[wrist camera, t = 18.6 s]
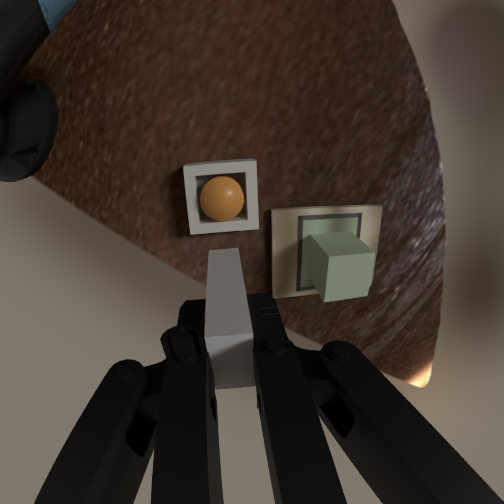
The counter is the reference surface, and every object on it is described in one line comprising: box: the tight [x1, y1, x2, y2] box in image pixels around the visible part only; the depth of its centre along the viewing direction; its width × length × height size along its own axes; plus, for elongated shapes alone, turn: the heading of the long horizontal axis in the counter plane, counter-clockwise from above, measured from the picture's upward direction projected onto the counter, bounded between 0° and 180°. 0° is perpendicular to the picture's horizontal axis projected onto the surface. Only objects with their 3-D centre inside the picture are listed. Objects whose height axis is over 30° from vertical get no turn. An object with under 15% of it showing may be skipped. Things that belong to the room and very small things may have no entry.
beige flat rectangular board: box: [271, 205, 382, 298], centre depth 37 cm, size 16×13×1 cm
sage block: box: [308, 232, 375, 302], centre depth 34 cm, size 6×6×7 cm
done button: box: [200, 174, 244, 221], centre depth 31 cm, size 5×5×3 cm
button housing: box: [183, 159, 259, 235], centre depth 32 cm, size 8×8×3 cm
